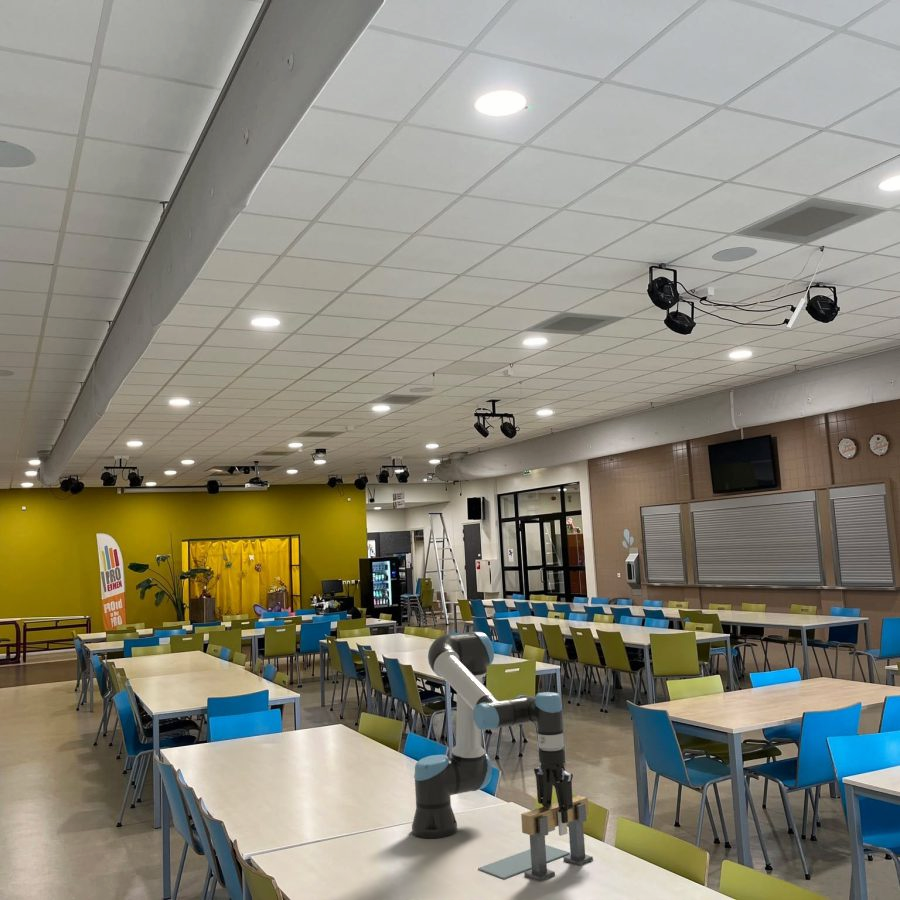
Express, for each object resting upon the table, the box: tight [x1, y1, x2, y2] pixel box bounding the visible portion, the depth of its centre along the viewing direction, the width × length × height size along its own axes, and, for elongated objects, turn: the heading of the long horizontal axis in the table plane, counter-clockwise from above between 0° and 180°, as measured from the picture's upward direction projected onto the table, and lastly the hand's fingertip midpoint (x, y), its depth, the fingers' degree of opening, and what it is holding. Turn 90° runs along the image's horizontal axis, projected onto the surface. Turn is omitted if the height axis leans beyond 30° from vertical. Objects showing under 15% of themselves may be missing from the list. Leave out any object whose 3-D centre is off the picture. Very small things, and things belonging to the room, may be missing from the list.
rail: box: [520, 795, 590, 836], centre depth 235 cm, size 4×24×5 cm, turn 129°
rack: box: [523, 803, 594, 883], centre depth 234 cm, size 6×22×16 cm, turn 129°
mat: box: [477, 844, 571, 880], centre depth 240 cm, size 11×27×1 cm, turn 129°
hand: (557, 832), depth 235 cm, fingers open, 4 cm apart
